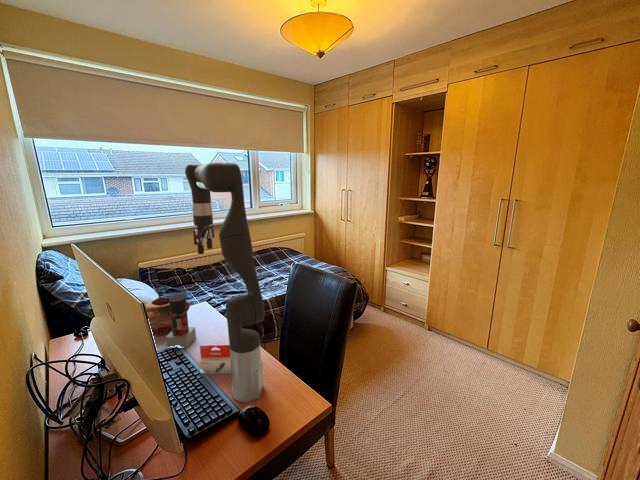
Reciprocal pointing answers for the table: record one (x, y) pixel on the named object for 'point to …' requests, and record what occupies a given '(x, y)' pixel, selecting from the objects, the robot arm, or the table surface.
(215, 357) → the ink cartridge box
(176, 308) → the deodorant
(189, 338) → the grey block
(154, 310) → the decorated ceramic mug
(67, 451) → the table surface
